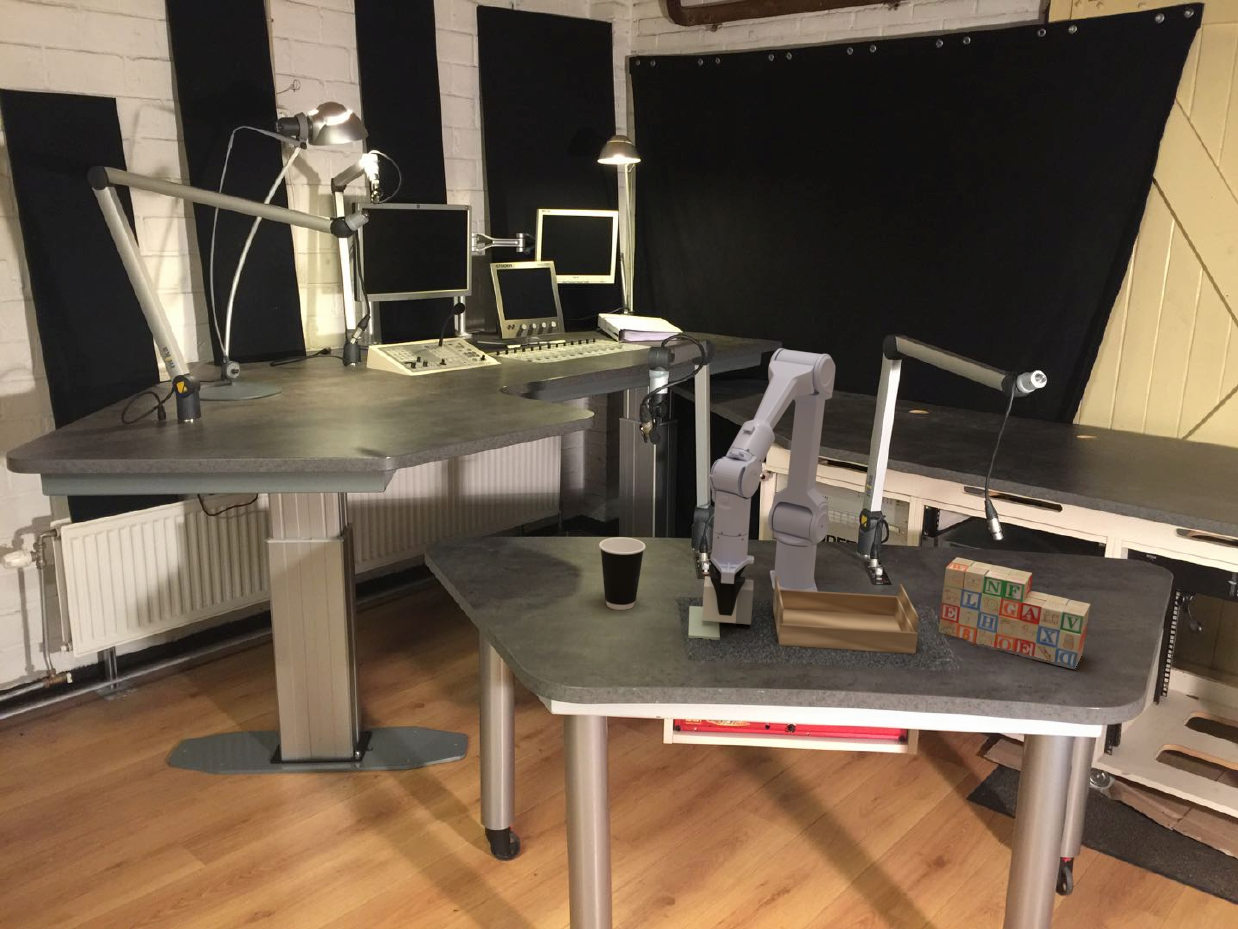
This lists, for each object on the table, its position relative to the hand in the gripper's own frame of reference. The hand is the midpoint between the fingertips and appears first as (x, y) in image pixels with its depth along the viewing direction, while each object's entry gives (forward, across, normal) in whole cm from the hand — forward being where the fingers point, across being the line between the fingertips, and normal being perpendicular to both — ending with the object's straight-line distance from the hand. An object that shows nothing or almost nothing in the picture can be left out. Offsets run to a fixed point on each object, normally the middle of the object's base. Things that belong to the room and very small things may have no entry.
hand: (726, 608), depth 165 cm
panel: (+3, 0, 0) cm, 3 cm away
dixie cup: (+3, +5, +18) cm, 19 cm away
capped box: (+2, 0, 0) cm, 2 cm away
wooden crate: (+3, +1, -19) cm, 19 cm away
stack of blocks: (+3, +1, -46) cm, 46 cm away
